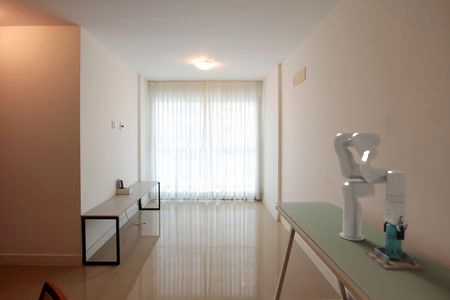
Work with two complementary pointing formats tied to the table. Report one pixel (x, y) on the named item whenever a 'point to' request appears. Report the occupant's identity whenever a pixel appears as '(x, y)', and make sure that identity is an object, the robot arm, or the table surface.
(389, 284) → the table surface
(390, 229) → the beverage bottle
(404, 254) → the tray
